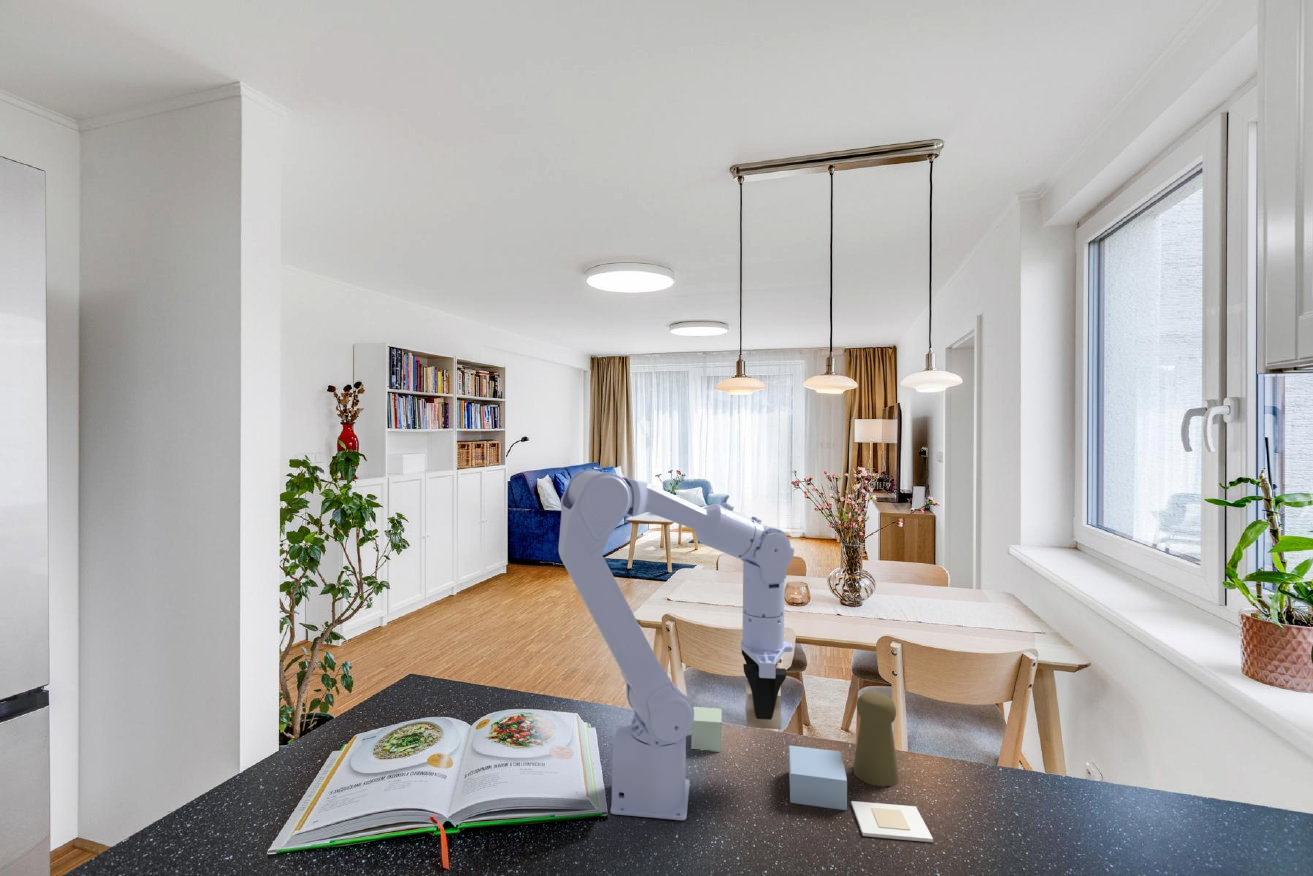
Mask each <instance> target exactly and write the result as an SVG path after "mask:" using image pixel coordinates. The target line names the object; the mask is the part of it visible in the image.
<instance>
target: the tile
mask: <svg viewBox="0 0 1313 876" xmlns="http://www.w3.org/2000/svg"><path fill="white" fill-rule="evenodd" d="M850 804H851V807H852V809H853V814H854V816H855V818H856V821H857V824H858V827H859V829H860V833H861V835H862V836H863V837H871V838H881V839H882V838H883V839H892V840H902V841H903V840H904V841H914V842H915V841H916V842H924V843H925V842H926V843H934V837H933V836H932V834H931V832H930V830H929V829H928V826H927V825H926V824H927V823H925V821H924V819H923V816H922V815H921V814H920V811H919V809H918V807H917V806H915V805H914V806H912V805H903V804H901V805H900V804H889V803H880V802H879V803H877V802H867V801H856V800H854V801H853V800H851V802H850Z"/></svg>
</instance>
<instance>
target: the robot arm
mask: <svg viewBox="0 0 1313 876" xmlns="http://www.w3.org/2000/svg"><path fill="white" fill-rule="evenodd" d="M734 508H735V507H734V506H733V505H731V504H729V503H727V502H721V504H718V503H712V504H710V505H707V506H705V507H701V506H698V505H697V504H694V503H692V502H690V501H688V500H686V499H684V498H681V497H679V496H677V495H675V494H673V493H671V492H669V491H666V490H664V489H662V488H660V487H658V486H656V485H654V484H652V483H650V482H646V481H643V480H642V481H641V480H637V479H633V478H628V477H624V476H621V475H618V474H617V473H613V472H608V471H607V472H602V471H600V470H598V469H594V468H587V469H583V470H579V471H578V472H576V473H575V474H574V475H573V476H572V477H571V478H570V479H569V482H568V484H567V485H566V488H565V490H564V492H563V494H562V496H561V498H560V509H561V512H560V514H561V515H560V526H559V539H558V554H559V558H560V560H561V561H562V564H563V566H564V567H565V569H566V571H567V573H568V574H569V577H570V578H571V580H572V582H573V584H574V585H575V588H576V590H577V591H578V593H579V595H580V597H581V599H582V601H583V603H584V604H585V606H586V608H587V610H588V613H590V616H591V617H592V619H593V621H594V623H595V625H596V626H597V629H598V630H599V632H600V634H601V636H602V638H603V640H604V641H605V643H606V645H607V647H608V649H609V651H610V653H611V655H612V656H613V658H614V660H615V661H616V663H617V666H618V667H619V669H620V672H621V673H620V674H621V676H622V678H623V680H624V682H625V686H626V689H625V690H626V693H625V694H626V700H627V701H628V704H629V706H630V707H631V708H632V709H633V716H632V719H631V723H630V724H629V725H620V726H617V728H616V732H615V735H614V740H613V748H612V758H611V759H612V763H611V764H612V765H611V767H612V768H611V807H610V814H612V815H618V816H619V815H621V816H631V817H643V818H653V819H663V820H675V821H686V819H687V817H688V816H687V815H688V806H689V805H688V804H689V795H690V786H691V785H690V780H689V779H688V778H686V767H687V766H686V764H687V763H686V759H687V757H686V755H687V754H686V753H687V751H686V747H687V745H686V744H687V734H688V733H689V731H691V730H692V724H693V721H694V708H693V707H694V705H693V703H692V701H691V700H690V698H689V697H688V696H687V695H685V693H682V691H680V689H679V688H678V687H677V686H676V685H675V684H674V682H672V681H673V680H672V679H671V678H670V676H669V675H668V674H667V672H666V670H665V669H664V667H663V666H662V665H661V663H660V661H659V660H658V659H657V657H656V654H655V653H654V650H653V649H652V647H651V645H650V642H649V641H648V640H647V639H648V638H647V637H646V636H645V634H644V631H643V630H642V628H641V626H640V624H639V622H638V621H637V618H636V616H635V615H634V612H633V611H632V609H631V607H630V605H629V603H628V601H627V599H626V597H625V596H624V594H623V592H622V589H621V587H620V585H619V584H618V582H617V580H616V578H615V576H614V575H613V573H612V570H611V569H610V567H609V565H608V563H607V562H606V561H607V560H606V559H605V557H604V556H603V553H604V551H605V548H606V546H607V543H608V541H609V538H610V537H611V534H612V533H613V532H614V530H615V529H616V528H617V527H618V526H619V524H621V522H622V521H623V520H624V518H625V517H626V516H627V515H628V516H630V517H632V518H633V517H637V516H640V515H643V514H645V513H650V514H652V515H656V517H657V516H658V517H661V518H662V519H663V518H664V519H665V520H668V521H671V522H673V523H676V524H679V525H682V526H684V527H687V528H689V529H692V530H693V531H694V533H695V536H696V538H697V540H698V542H699V543H700V544H701V545H704V546H707V547H709V548H712V549H714V550H717V551H719V552H721V553H723V554H727V555H729V556H732V557H734V558H737V559H740V560H741V561H742V562H743V563H742V567H743V569H742V570H743V571H742V639H741V641H740V648H741V655H742V656H743V658H744V661H745V663H743V667H742V668H743V673H744V675H745V677H746V679H747V680H748V682H749V684H750V688H751V691H752V697H753V704H754V711H755V715H756V718H757V719H767V720H771V719H772V717H773V713H774V709H775V704H776V699H777V695H778V692H779V690H780V689H781V687H782V685H783V683H784V681H785V680H786V678H787V674H788V672H787V670H786V668H779V667H777V665H778V663H779V661H780V659H781V658H782V656H784V654H785V653H787V652H788V653H791V652H793V651H794V650H793V648H794V646H793V644H792V642H790V641H785V589H786V588H785V579H787V569H788V567H789V565H790V564H791V562H792V560H793V558H794V554H795V548H794V547H792V546H791V541H790V539H789V537H788V536H787V534H786V533H785V532H784V531H783V530H781V529H778V528H775V527H771V526H767V525H763V524H762V519H761V518H760V517H756V516H751V518H750V517H748V516H746V515H743V514H741V513H739V512H736V511H734Z"/></svg>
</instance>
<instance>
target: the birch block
mask: <svg viewBox="0 0 1313 876" xmlns="http://www.w3.org/2000/svg"><path fill="white" fill-rule="evenodd" d="M745 718H746V728H753V729H754V728H755V729H768V730H770V729H771V730H781V729H782V727H781V726H782V725H781V724H782V720H781V719H782V695H781V690H780V689H779V692H778V695H777V699H776V704H775V709H774V713H773V717H772V719H771V720H767V719H757V718H756V715H755V711H754V704H753V697H752V691H751V688H750V684H749V682H748V680H745Z"/></svg>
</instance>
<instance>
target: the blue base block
mask: <svg viewBox="0 0 1313 876" xmlns="http://www.w3.org/2000/svg"><path fill="white" fill-rule="evenodd" d="M788 749H789V751H788V752H789V753H788V756H789V757H788V759H789V760H788V775H789V776H788V777H789V778H788V779H789V802H790V803H793V804H797V805H798V804H799V805H807V806H813V807H819V808H820V807H821V808H827V809H832V810H833V809H835V810H841V811H848V803H847V802H848V780H847V779H848V778H847V773H846V770H845V765H844V761H843V756H842V755H843V754H842V751H839V750H831V749H822V748H814V747H806V746H805V747H804V746H797V745H796V746H795V745H789V746H788Z"/></svg>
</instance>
